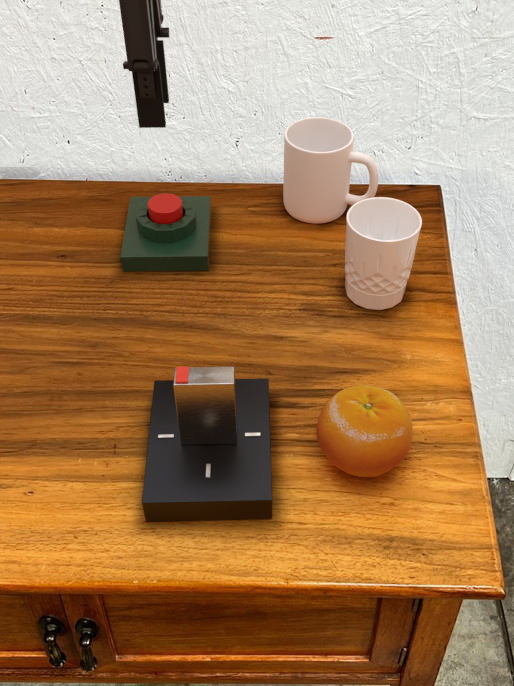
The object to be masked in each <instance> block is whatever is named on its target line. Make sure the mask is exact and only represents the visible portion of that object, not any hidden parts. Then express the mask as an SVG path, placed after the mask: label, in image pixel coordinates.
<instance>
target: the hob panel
mask: <svg viewBox="0 0 514 686" xmlns="http://www.w3.org/2000/svg"><path fill="white" fill-rule="evenodd" d="M269 381H270V380H269V378H235V388H236V411H237V444H194V445H181V439H180V432H179V424H178V417H177V409H176V402H175V394H174V386H173V382H174V379H160V380H159V379H158V380H157V379H156V380H153V390H152V399H151V408H150V409H151V410H150V419H149V427H148V428H149V429H148V438H147V446H146V447H147V448H146V457H145V467H144V477H143V485H142V494H141V495H142V496H141V506H142V511H143V517H144V521H145V523H164V522H165V523H166V522H169V523H170V522H204V521H205V522H207V521H209V522H210V521H211V522H212V521H250V520H251V521H253V520H273V501H274V500H273V477H272V476H273V473H272V472H273V471H272V444H271V442H272V441H271V412H270V411H271V410H270V387H269V386H270V382H269Z"/></svg>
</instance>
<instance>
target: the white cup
mask: <svg viewBox="0 0 514 686" xmlns="http://www.w3.org/2000/svg"><path fill="white" fill-rule="evenodd" d="M345 221H346V222H345V245H344V246H345V248H344V273H345V278H344V279H345V280H344V281H345V282H344V288H345V293H346V296H347V297H348V299H350V301H351V302H352V303H354V304H355V305H357V306H360V307H362V308H363V309H366V310H374V311H375V310H376V311H383V310H386V309H391V308H394V307H395V306H396V305H398V304H399V303H401V302H402V300H403V298H404V295H405V293H406V289H407V285H408V281H409V279H410V276H411V271H412V267H413V264H414V260H415V256H416V251H417V247H418V242H419V237H420V235H421V234H420V233H421V230H422V225H423V218H422V216H421V214H420V212H419V211H418V210H417V209H416V208H415V207H414V206H412V205H411V204H409V203H408V202H406V201H403V200H401V199H397V198H393V197H386V196H376V197H375V196H374V198H368V199H364V200H361V201H359V202H357V203H355V204H354V205H350V207H349V209H347V212H346V220H345Z"/></svg>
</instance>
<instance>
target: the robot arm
mask: <svg viewBox="0 0 514 686" xmlns="http://www.w3.org/2000/svg"><path fill="white" fill-rule="evenodd" d="M118 5H119V9H120V10H119V11H120V17H121V26H122V31H123V32H122V33H123V40H124V47H125V54H126V60H125V61H124V62H123V63H122V67H123V70H128V72H131V75H132V83H133V90H134V98H135V106H136V113H137V123H138V128H139V129H148V128H149V129H151V128H152V129H153V128H155V129H156V128H159V129H160V128H166V127H167V121H166V111H165V104H169V103H170V96H169V94H170V93H169V85H168V75H167V74H168V73H167V66H166V65H167V63H166V56H165V46H164V39H165V38H166V39H167V38H170V27H162V24H163V22H164V20H165V19H164V15H163V9H162V8H163V7H162V0H118ZM163 38H164V39H163Z"/></svg>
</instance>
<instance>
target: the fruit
mask: <svg viewBox="0 0 514 686" xmlns="http://www.w3.org/2000/svg"><path fill="white" fill-rule="evenodd" d="M413 426H414V425H413V419H412V417H411V414H410V412H409V410H408V409H407V407H406V406H405V404H404V403H403V402H402V400H401V399H400V398H399V397H398V396H397V395H396V394H394V393H393V392H392V391H390V390H387V389H385V388H382V387H378V386H375V385H366V384H359V385H353V386H349V387H346V388H344V389H341V390H339V391H337V392H336V393H335V394H333V395H332V396H331V397H330V398H329V399H328V400H327V402H326V403H325V404H324V405H323V407H322V409H321V411H320V413H319V416H318V419H317V423H316V427H315V434H316V439H317V440H316V441H317V444H318V446H319V448H320V449H321V451H322V453H323V454H324V456H325V457H326V458H327V460H328V461H329V463H330V464H331V465H333V466H334V467H335V468H337V469H339V470H341V471H342V472H344V473H346V474H349V475H350V476H354V477H355V476H356V477H359V478H360V477H361V478H374V477H378V476H381V475H383V474H385V473H387V472H388V471H390V470H392V469H393V468H395V467H396V466H398V465H399V464H400V463H402V462H403V461H404V459H405V458H406V457H407V455H408V453H409V452H410V448H411V447H412V441H413V436H414V427H413Z"/></svg>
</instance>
